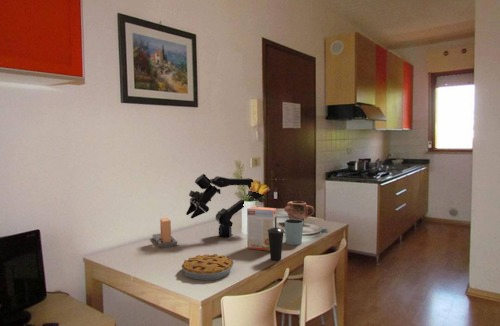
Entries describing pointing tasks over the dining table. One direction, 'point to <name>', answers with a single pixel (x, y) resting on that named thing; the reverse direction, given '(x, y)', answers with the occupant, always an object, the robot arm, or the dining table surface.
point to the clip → (165, 230)
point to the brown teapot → (298, 210)
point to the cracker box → (259, 227)
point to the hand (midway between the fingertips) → (188, 216)
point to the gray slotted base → (160, 242)
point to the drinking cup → (275, 242)
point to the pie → (207, 267)
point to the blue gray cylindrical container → (293, 231)
